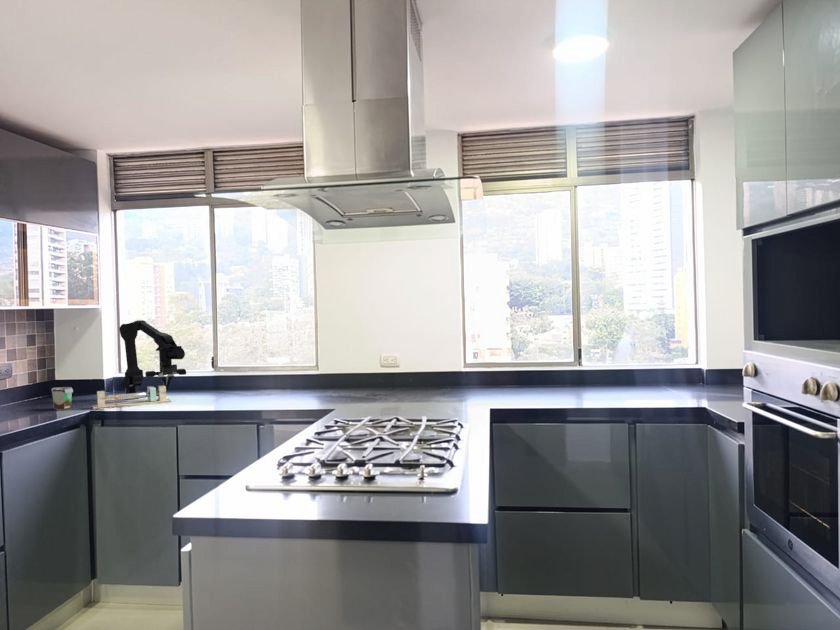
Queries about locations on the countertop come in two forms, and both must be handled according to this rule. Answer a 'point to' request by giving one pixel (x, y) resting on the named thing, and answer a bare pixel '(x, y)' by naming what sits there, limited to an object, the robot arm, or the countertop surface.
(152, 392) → the collar
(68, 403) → the food container
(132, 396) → the pipe
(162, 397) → the beige cradle stand
